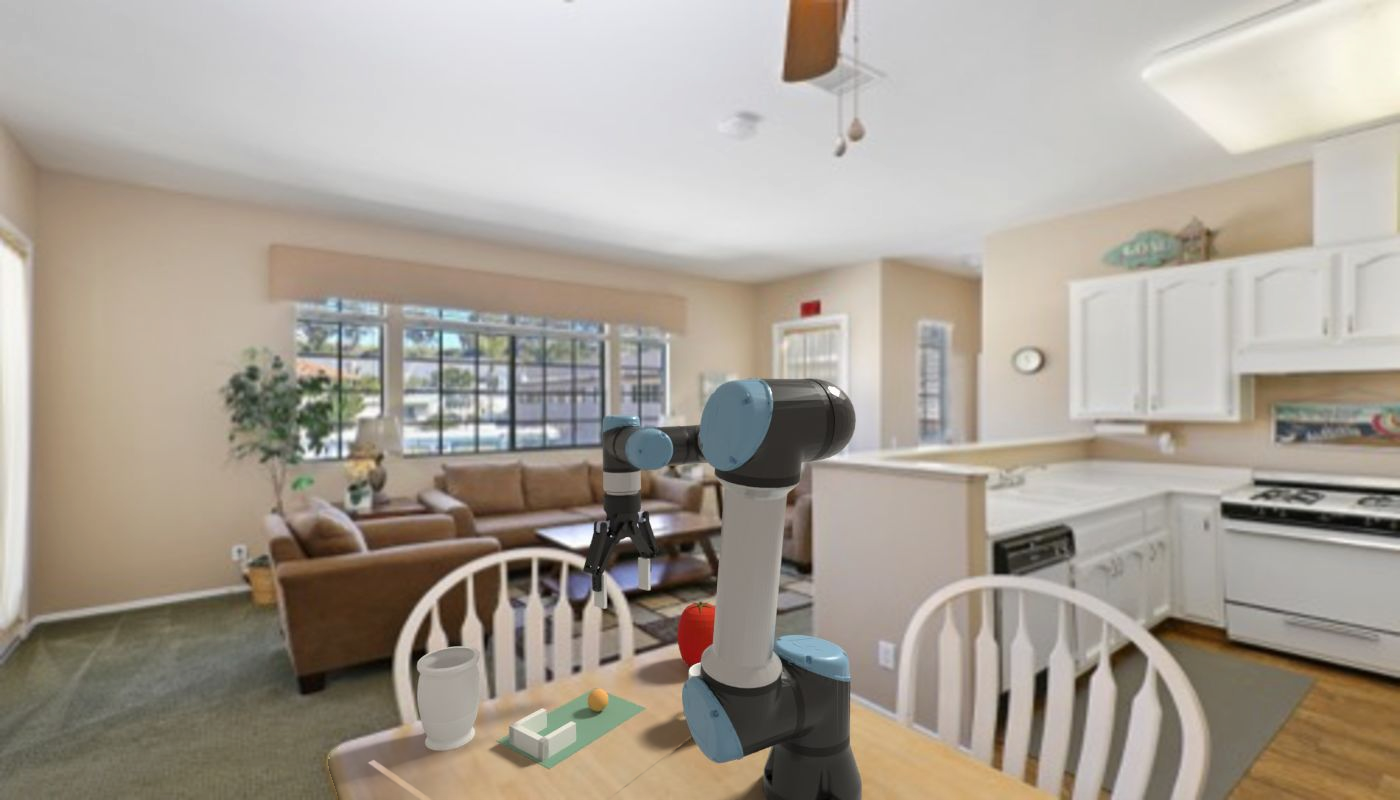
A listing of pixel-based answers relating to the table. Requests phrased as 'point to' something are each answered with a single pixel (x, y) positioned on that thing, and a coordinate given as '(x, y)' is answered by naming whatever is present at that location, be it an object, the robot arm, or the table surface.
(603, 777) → the table surface
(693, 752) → the table surface
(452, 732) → the jar
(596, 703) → the ball
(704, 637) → the tomato
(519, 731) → the white c-shaped bracket
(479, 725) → the table surface
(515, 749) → the putting mat
